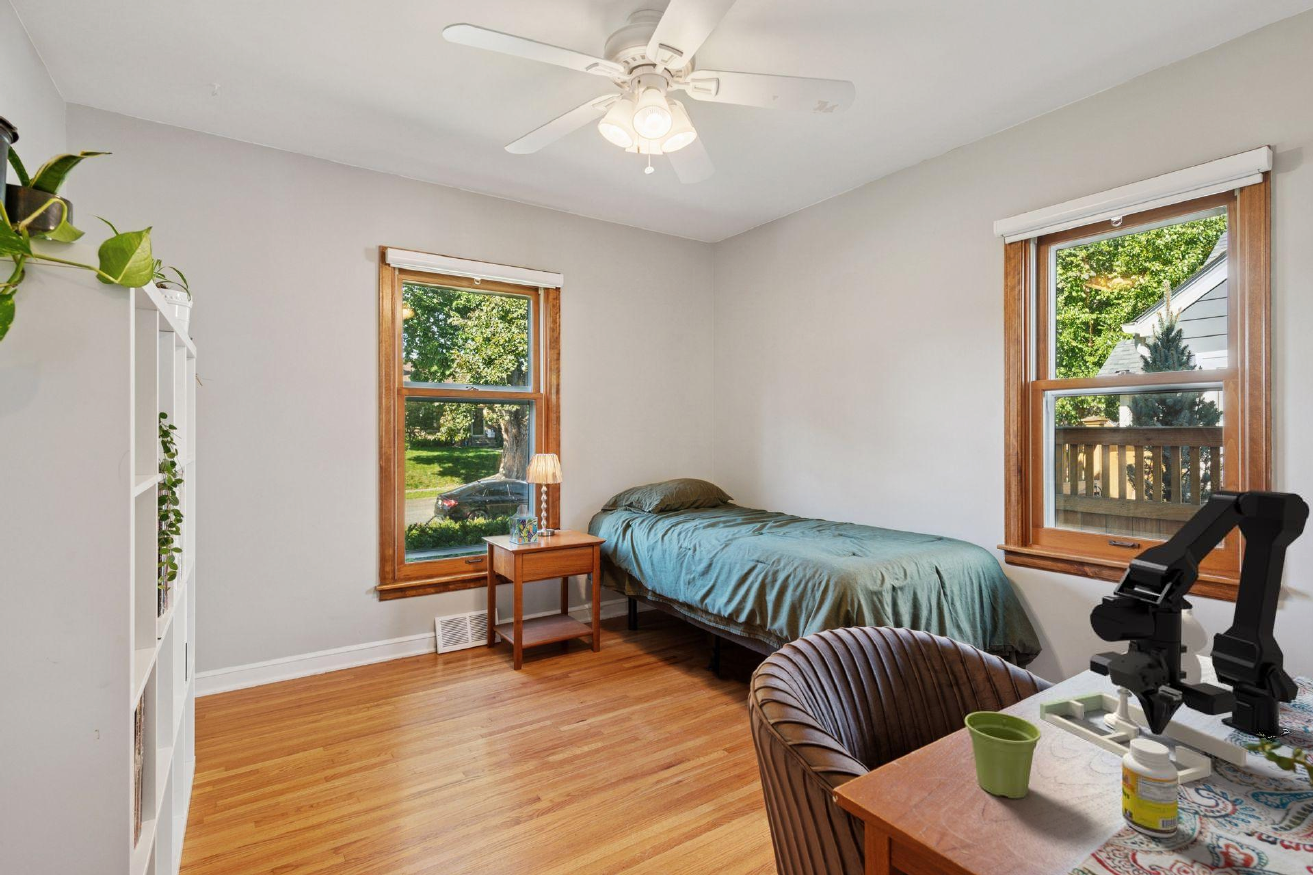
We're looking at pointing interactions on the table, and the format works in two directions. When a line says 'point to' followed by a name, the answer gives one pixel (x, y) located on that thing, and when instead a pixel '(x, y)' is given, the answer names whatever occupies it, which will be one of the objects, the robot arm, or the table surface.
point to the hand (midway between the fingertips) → (1156, 733)
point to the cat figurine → (1192, 647)
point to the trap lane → (1186, 760)
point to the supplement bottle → (1150, 789)
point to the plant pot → (1002, 751)
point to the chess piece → (1121, 710)
